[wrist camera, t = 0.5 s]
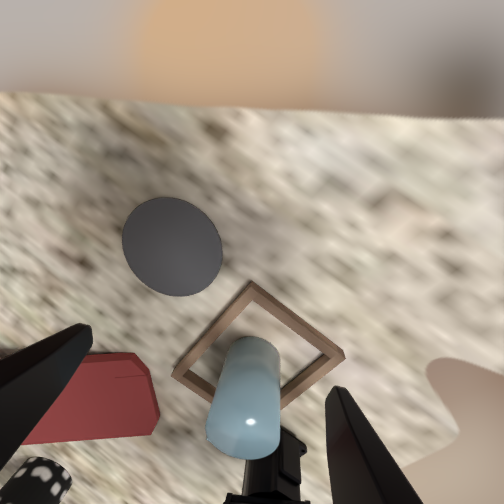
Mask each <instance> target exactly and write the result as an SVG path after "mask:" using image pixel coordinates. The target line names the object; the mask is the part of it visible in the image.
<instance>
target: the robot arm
mask: <svg viewBox="0 0 504 504" xmlns="http://www.w3.org/2000/svg"><path fill="white" fill-rule="evenodd" d="M92 344H93V336H92V328H91V326H90V325H86V324H82V323H78V324H75V325H73V326H70V327H68V328H66V329H64V330H62V331H60V332H58V333H56V334H53V335H51V336H49V337H47V338H45V339H43V340H41V341H39V342H36V343H34V344H32V345H30V346H28V347H26V348H24V349H22V350H19V351H17V352H15V353H13V354H11V355H9V356H7V357H5V358H2V359H0V471H1V470H2V469H3V467H4V466H5V465H6V463H7V462H8V461H9V460H10V458H11V457H12V456H13V454H14V453H15V452H16V451H17V449H18V448H19V447H20V445H21V444H22V443H23V442H24V440H25V439H26V438H27V436H28V435H29V434H30V433H31V431H32V430H33V429H34V427H35V426H36V425H37V424H38V422H39V421H40V420H41V418H42V417H43V416H44V415H45V413H46V412H47V411H48V409H49V408H50V407H51V406H52V404H53V403H54V402H55V400H56V399H57V398H58V397H59V395H60V394H61V393H62V391H63V390H64V388H65V387H66V386H67V384H68V383H69V381H70V379H71V378H72V376H73V375H74V373H75V372H76V370H77V369H78V367H79V365H80V364H81V362H82V361H83V359H84V358H85V356H86V355H87V353H88V352H89V350H90V348H91V347H92ZM325 417H326V447H327V460H328V468H329V476H330V484H331V492H332V500H333V504H423V502H422V501H421V499H420V498H419V496H418V495H417V493H416V492H415V490H414V489H413V487H412V486H411V484H410V483H409V481H408V480H407V478H406V477H405V475H404V474H403V472H402V471H401V469H400V468H399V466H398V465H397V463H396V462H395V460H394V459H393V457H392V456H391V454H390V453H389V451H388V450H387V448H386V447H385V445H384V444H383V442H382V441H381V439H380V438H379V436H378V435H377V433H376V432H375V430H374V429H373V427H372V426H371V424H370V423H369V421H368V420H367V418H366V417H365V415H364V414H363V412H362V411H361V409H360V408H359V406H358V405H357V403H356V402H355V400H354V399H353V397H352V396H351V394H350V393H349V391H348V390H347V389H346V388H344V387H340V386H334V387H333V388H332V389H331V391H330V393H329V394H328V396H327V398H326V401H325ZM306 453H307V447H306V446H305V445H304V444H302V443H301V442H299V441H298V440H297V439H295V438H294V437H292V436H291V435H289V434H288V433H286V432H285V431H284V430H282V429H281V428H280V441H279V445H278V447H277V448H276V449H275V451H274V452H272V453H271V454H270V455H268V456H266V457H263V458H259V459H252V460H248V459H246V464H245V472H244V480H243V488H242V495H235V494H233V493H227V496H226V500H225V502H224V503H223V504H310V501H308V500H305V501H301V499H300V484H301V469H300V457H301V456H303V455H304V454H306Z"/></svg>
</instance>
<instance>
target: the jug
mask: <svg viewBox="0 0 504 504" xmlns="http://www.w3.org/2000/svg"><path fill="white" fill-rule="evenodd" d="M205 430H206V434H207V438H206V440H208V441H209V442H211V443H212V444H213V445H214V446H215V447H216V448H217V449H219V450H220V451H221V452H223V453H225V454H227V455H229V456H232V457H235V458H239V459H248V460H252V459H259V458H263V457H266V456H268V455H270V454H271V453H272V452H274V451H275V449H276V448H277V447H278V445H279V441H280V355H279V353H278V351H277V349H276V348H275V347H274V346H273V345H272V344H271V343H270V342H268V341H266V340H264V339H262V338H258V337H244V338H241V339H238V340H236V341H235V342H234V343H232V344H231V346H230V347H229V349H228V352H227V355H226V358H225V361H224V365H223V368H222V371H221V375H220V378H219V381H218V385H217V388H216V391H215V395H214V398H213V401H212V404H211V408H210V411H209V414H208V418H207V421H206V425H205Z"/></svg>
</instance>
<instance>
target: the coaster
mask: <svg viewBox="0 0 504 504" xmlns="http://www.w3.org/2000/svg"><path fill="white" fill-rule="evenodd" d="M122 245H123V251H124V255H125V258H126V260H127V262H128V264H129V266H130V268H131V269H132V271H133V272H134V274H135V275H136V276H137V277H138V278H139V279H140V280H141V281H142V282H143V283H144V284H145V285H147V286H148V287H150V288H151V289H153V290H155V291H157V292H159V293H162V294H165V295H169V296H189V295H193V294H196V293H198V292H200V291H202V290H204V289H205V288H206V287H208V286H209V285H210V284H211V283H212V282H213V280H214V279H215V277H216V276H217V274H218V272H219V270H220V267H221V263H222V244H221V240H220V237H219V234H218V232H217V230H216V228H215V226H214V225H213V223H212V222H211V220H210V219H209V218H208V217H207V216H206V215H205V214H204V213H203V212H202V211H201V210H200V209H198V208H197V207H195V206H194V205H192V204H190V203H188V202H186V201H183V200H180V199H175V198H157V199H152V200H149V201H147V202H145V203H143V204H141V205H140V206H138V207H137V208H136V209H135V210H134V211H133V212H132V213H131V214H130V216H129V217H128V219H127V221H126V223H125V226H124V229H123V235H122Z"/></svg>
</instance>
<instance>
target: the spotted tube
mask: <svg viewBox="0 0 504 504" xmlns="http://www.w3.org/2000/svg"><path fill="white" fill-rule="evenodd" d="M71 485H72V480H71V477H70V475H69V474H68V472H67V471H66V470H65V469H64V468H63V467H61V466H60V465H59V464H57V463H55V462H53V461H51V460H48V459H45V458H40V457H33V458H29V459H27V460H26V461H25V462H24V464H23V465H22V466H21V467H20V468H19V469H18V470H17V472H16V473H15V474H14V475H13V476H12V477H11V478H10V479H9V481H8V482H7V483H6V484H5V485H4V486H3V487H2V488H1V490H0V504H59V503H60V502H61V500H62V499H63V497H64V496H65V494H66V493H67V491H68V490H69V488H70V487H71Z"/></svg>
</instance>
